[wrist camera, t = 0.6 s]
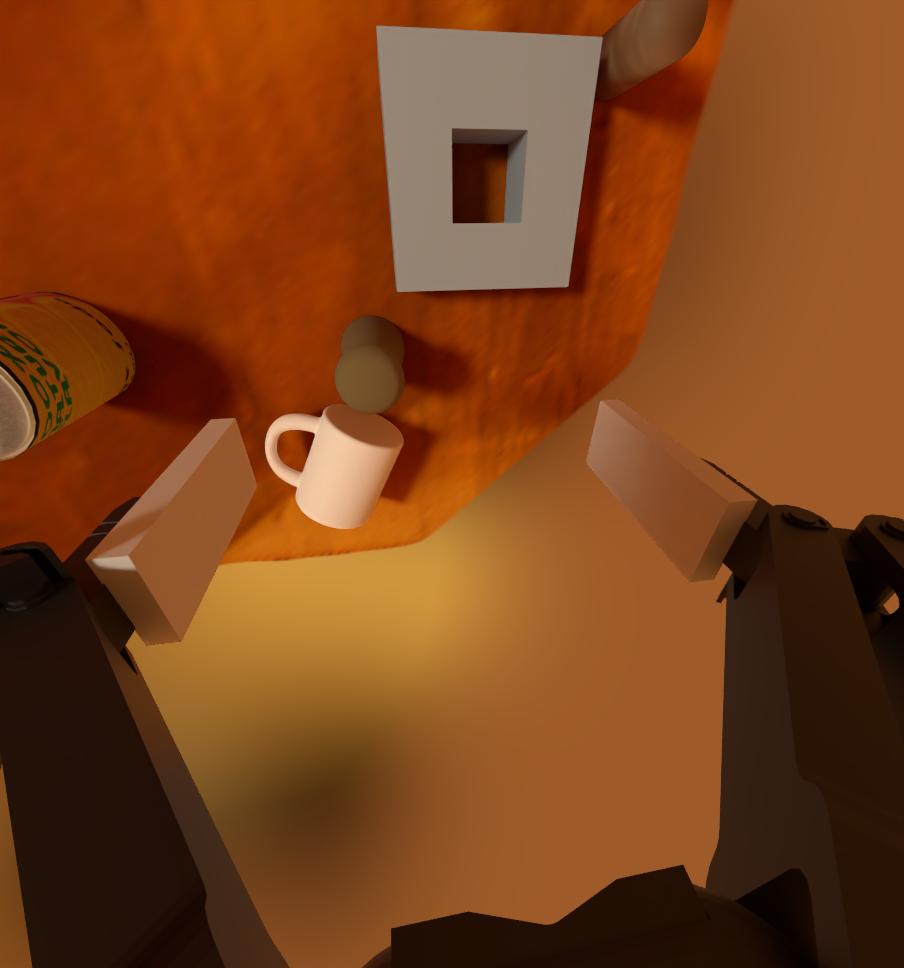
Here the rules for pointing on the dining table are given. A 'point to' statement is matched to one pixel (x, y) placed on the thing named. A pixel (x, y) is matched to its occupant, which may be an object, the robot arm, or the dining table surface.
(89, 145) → the dining table surface
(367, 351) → the cork
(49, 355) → the yellow food can
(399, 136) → the hole block
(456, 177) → the dining table surface
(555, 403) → the dining table surface
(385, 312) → the dining table surface
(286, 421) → the mug
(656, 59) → the short pin
